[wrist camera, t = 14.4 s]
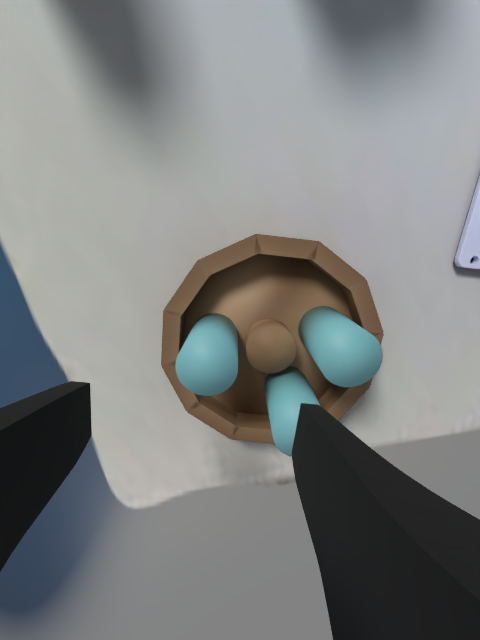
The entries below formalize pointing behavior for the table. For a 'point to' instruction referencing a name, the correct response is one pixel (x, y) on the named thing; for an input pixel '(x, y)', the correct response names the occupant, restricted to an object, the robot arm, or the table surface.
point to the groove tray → (265, 325)
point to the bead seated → (340, 346)
